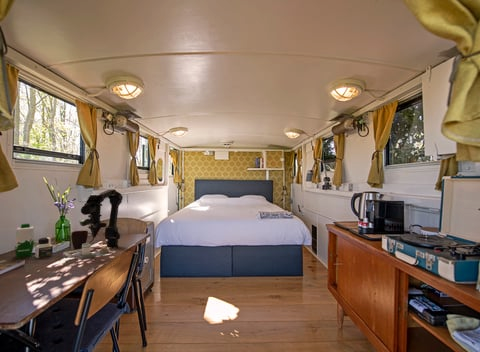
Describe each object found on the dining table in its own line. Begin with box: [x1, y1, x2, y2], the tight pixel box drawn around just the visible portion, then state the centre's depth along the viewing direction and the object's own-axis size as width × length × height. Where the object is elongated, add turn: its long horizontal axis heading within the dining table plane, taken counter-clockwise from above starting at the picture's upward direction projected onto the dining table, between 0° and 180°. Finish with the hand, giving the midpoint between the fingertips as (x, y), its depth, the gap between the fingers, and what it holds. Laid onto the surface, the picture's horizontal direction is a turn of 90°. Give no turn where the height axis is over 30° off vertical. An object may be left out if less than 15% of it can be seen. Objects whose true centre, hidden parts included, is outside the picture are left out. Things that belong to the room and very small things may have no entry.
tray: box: [62, 249, 82, 259], centre depth 153 cm, size 10×10×2 cm
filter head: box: [75, 248, 112, 261], centre depth 153 cm, size 18×10×3 cm, turn 145°
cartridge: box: [81, 242, 92, 256], centre depth 149 cm, size 5×5×8 cm
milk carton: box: [14, 223, 35, 259], centre depth 151 cm, size 9×9×20 cm
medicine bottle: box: [34, 236, 54, 259], centre depth 150 cm, size 7×7×12 cm
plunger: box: [100, 245, 108, 250], centre depth 158 cm, size 4×4×3 cm
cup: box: [70, 230, 95, 250], centre depth 171 cm, size 10×14×12 cm
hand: (94, 237), depth 152 cm, fingers closed
